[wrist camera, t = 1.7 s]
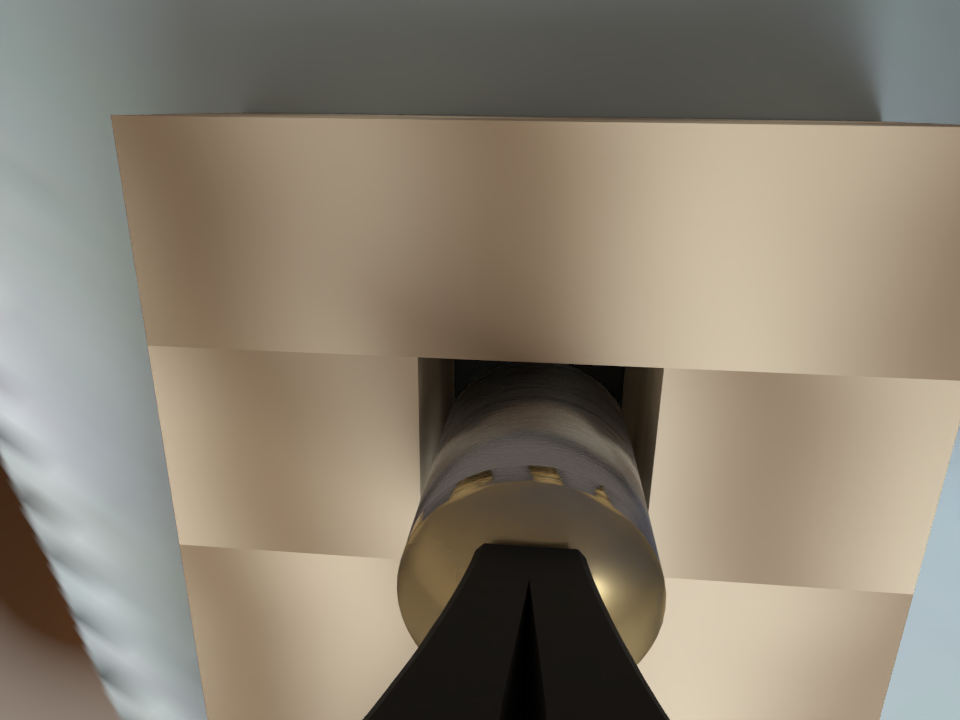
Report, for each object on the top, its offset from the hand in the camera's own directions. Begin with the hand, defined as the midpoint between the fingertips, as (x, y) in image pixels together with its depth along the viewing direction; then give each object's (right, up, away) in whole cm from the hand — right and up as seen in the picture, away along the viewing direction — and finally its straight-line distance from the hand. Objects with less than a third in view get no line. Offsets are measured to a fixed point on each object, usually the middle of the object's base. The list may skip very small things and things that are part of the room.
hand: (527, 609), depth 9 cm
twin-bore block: (+1, -1, +10) cm, 10 cm away
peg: (0, +2, +4) cm, 5 cm away
